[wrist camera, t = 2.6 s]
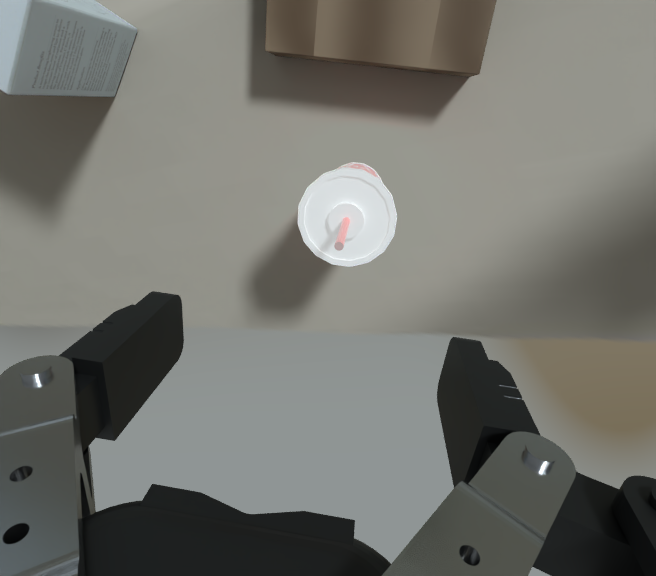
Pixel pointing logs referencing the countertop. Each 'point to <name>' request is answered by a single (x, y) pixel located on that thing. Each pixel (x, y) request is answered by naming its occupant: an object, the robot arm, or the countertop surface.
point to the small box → (62, 48)
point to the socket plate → (383, 32)
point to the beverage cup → (347, 215)
